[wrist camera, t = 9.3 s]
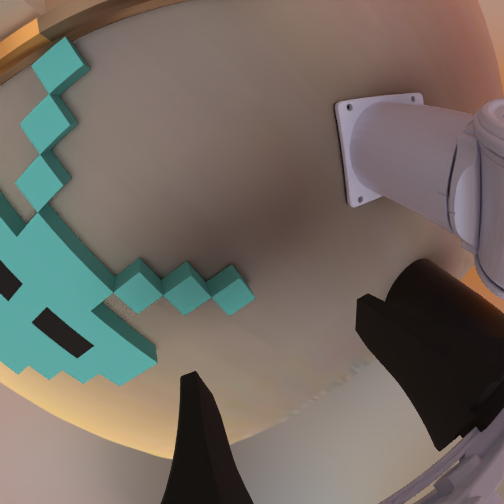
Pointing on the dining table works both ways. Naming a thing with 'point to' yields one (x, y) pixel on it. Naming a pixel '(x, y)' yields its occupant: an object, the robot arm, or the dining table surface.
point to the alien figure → (78, 266)
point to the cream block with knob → (18, 14)
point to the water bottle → (444, 301)
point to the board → (64, 28)
